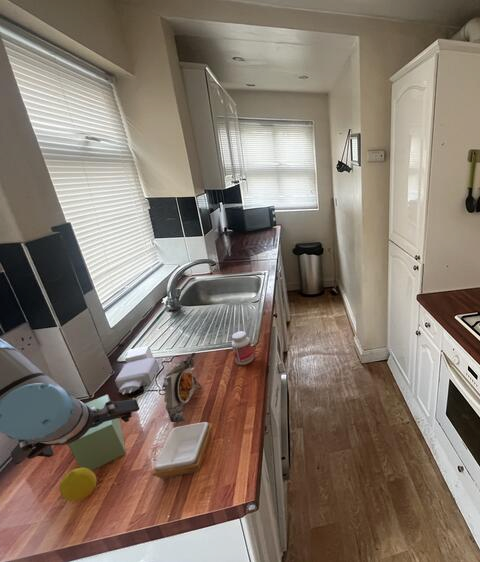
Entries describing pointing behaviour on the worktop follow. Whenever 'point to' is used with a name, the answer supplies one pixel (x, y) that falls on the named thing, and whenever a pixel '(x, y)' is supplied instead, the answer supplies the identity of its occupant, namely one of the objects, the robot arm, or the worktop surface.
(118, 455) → the tissue box
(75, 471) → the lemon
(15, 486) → the worktop surface
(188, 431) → the soap dish
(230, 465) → the worktop surface
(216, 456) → the worktop surface
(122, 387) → the charger
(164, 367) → the worktop surface
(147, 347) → the white cube
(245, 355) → the pill bottle
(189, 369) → the meal
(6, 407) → the robot arm
